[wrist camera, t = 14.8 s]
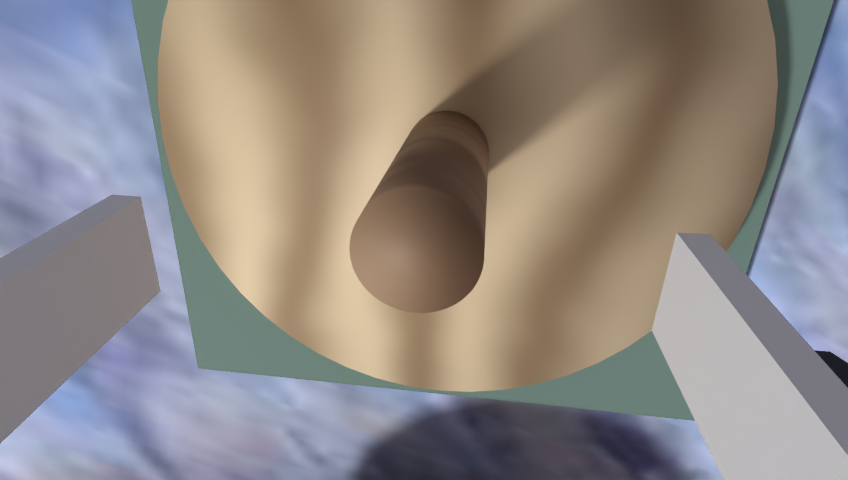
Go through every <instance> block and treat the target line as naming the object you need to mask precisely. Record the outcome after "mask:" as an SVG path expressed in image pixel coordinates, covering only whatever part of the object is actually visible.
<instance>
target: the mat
mask: <svg viewBox="0 0 848 480" xmlns="http://www.w3.org/2000/svg"><path fill="white" fill-rule="evenodd" d="M131 1H132V7H133V12H134V18H135V23H136V29H137V34H138V40H139V45H140V51H141V56H142V62H143V67H144V73H145V78H146V84H147V89H148V95H149V100H150V106H151V111H152V117H153V122H154V128H155V133H156V139H157V144H158V150H159V155H160V161H161V166H162V172H163V177H164V183H165V188H166V194H167V199H168V205H169V210H170V216H171V221H172V227H173V232H174V238H175V243H176V249H177V254H178V260H179V265H180V271H181V276H182V282H183V287H184V293H185V298H186V304H187V309H188V315H189V320H190V326H191V331H192V337H193V342H194V348H195V353H196V359H197V364H198V368H202V369H211V370H220V371H230V372H239V373H249V374H258V375H268V376H277V377H287V378H296V379H306V380H315V381H324V382H334V383H343V384H353V385H362V386H372V387H381V388H391V389H400V390H410V391H419V392H428V393H438V394H447V395H457V396H466V397H476V398H485V399H495V400H504V401H514V402H523V403H533V404H542V405H551V406H561V407H570V408H580V409H589V410H599V411H608V412H618V413H627V414H637V415H646V416H655V417H665V418H674V419H684V420H693V421H695V420H694V417H693V415H692V413H691V411H690V409H689V407H688V405H687V403H686V401H685V399H684V397H683V395H682V392H681V390H680V388H679V386H678V384H677V382H676V380H675V378H674V376H673V374H672V372H671V370H670V367H669V365H668V363H667V361H666V359H665V357H664V355H663V353H662V351H661V349H660V347H659V345H658V342H657V340H656V338H655V336H654V334H653V332H652V331H651V332H649V333H648V334H646V335H645V336H643V337H642V338H640V339H639V340H637V341H636V342H635V343H633V344H632V345H630V346H629V347H627V348H625V349H623V350H621V351H620V352H618V353H616V354H614V355H612V356H610V357H608V358H606V359H605V360H603V361H601V362H599V363H597V364H594V365H592V366H589V367H587V368H584V369H582V370H579V371H577V372H574V373H572V374H569V375H567V376H563V377H560V378H556V379H553V380H549V381H545V382H542V383H538V384H535V385H529V386H523V387H517V388H511V389H505V390H493V391H476V392H462V391H439V390H431V389H425V388H418V387H411V386H405V385H401V384H397V383H394V382H390V381H386V380H382V379H378V378H375V377H372V376H369V375H366V374H364V373H361V372H358V371H356V370H353V369H350V368H347V367H345V366H343V365H341V364H339V363H337V362H335V361H333V360H331V359H329V358H327V357H325V356H323V355H320V354H318V353H317V352H315V351H313V350H312V349H310V348H309V347H307V346H305V345H304V344H302V343H301V342H299V341H297V340H296V339H294V338H293V337H291V336H289V335H288V334H287V333H286V332H284V331H283V330H282V329H281V328H279V327H278V326H277V325H275V324H274V323H273V322H272V321H270V320H269V319H268V318H266V317H265V316H264V315H263V314H262V313H261V312H260V311H259V310H258V309H257V308H256V307H255V306H254V305H253V304H252V303H251V302H250V301H248V300H247V299H246V298H245V297H244V296H243V295H242V294H241V293H240V292H239V290H238V289H237V288H236V287H235V286H234V284H233V283H232V282H231V281H230V280H229V278H228V277H227V276H226V275H225V274H224V272H223V271H222V270H221V269H220V268H219V266H218V265H217V263H216V262H215V260H214V259H213V257H212V256H211V254H210V253H209V251H208V250H207V248H206V247H205V245H204V244H203V242H202V241H201V239H200V237H199V235H198V233H197V231H196V229H195V228H194V226H193V224H192V222H191V220H190V218H189V216H188V214H187V212H186V210H185V208H184V206H183V203H182V200H181V198H180V195H179V192H178V190H177V187H176V184H175V182H174V179H173V177H172V174H171V170H170V166H169V162H168V158H167V154H166V150H165V146H164V142H163V138H162V130H161V122H160V114H159V106H158V55H159V48H160V40H161V32H162V24H163V19H164V15H165V11H166V7H167V4H168V0H131ZM833 1H834V0H767V3H768V7H769V12H770V17H771V21H772V26H773V31H774V36H775V44H776V61H777V77H778V89H777V101H776V113H775V126H774V131H773V136H772V140H771V145H770V149H769V154H768V158H767V163H766V167H765V171H764V173H763V176H762V179H761V181H760V184H759V187H758V190H757V192H756V195H755V198H754V200H753V203H752V206H751V208H750V210H749V212H748V214H747V216H746V218H745V220H744V222H743V223H742V225H741V227H740V229H739V231H738V233H737V235H736V237H735V239H734V241H733V242H732V244H731V246H730V247H729V248H728V250H727V251H726V252H727V254H728V255H729V256H730V257H731V258H732V259H733V260H734V261H735V262H736V264H737V265H738V266H739V267H740V268H741V269H742V270H743V271H744V273H745V274H746V272H747V269H748V266H749V263H750V260H751V257H752V254H753V250H754V247H755V244H756V241H757V238H758V235H759V232H760V229H761V226H762V222H763V219H764V216H765V213H766V210H767V207H768V204H769V201H770V198H771V194H772V191H773V188H774V185H775V182H776V179H777V176H778V173H779V170H780V166H781V163H782V160H783V157H784V154H785V151H786V148H787V145H788V141H789V138H790V135H791V132H792V129H793V126H794V123H795V120H796V117H797V113H798V110H799V107H800V104H801V101H802V98H803V95H804V92H805V89H806V85H807V82H808V79H809V76H810V73H811V70H812V67H813V64H814V61H815V57H816V54H817V51H818V48H819V45H820V42H821V39H822V36H823V32H824V29H825V26H826V23H827V20H828V17H829V14H830V11H831V8H832V4H833Z"/></svg>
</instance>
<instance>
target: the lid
mask: <svg viewBox="0 0 848 480" xmlns="http://www.w3.org/2000/svg"><path fill="white" fill-rule="evenodd" d="M777 89H778V77H777V61H776V44H775V36H774V31H773V26H772V21H771V17H770V12H769V7H768V3H767V0H168V4H167V7H166V11H165V15H164V19H163V24H162V32H161V40H160V48H159V55H158V106H159V114H160V122H161V130H162V138H163V142H164V146H165V150H166V154H167V158H168V162H169V166H170V170H171V174H172V177H173V179H174V182H175V184H176V187H177V190H178V192H179V195H180V198H181V200H182V203H183V206H184V208H185V210H186V212H187V214H188V216H189V218H190V220H191V222H192V224H193V226H194V228H195V229H196V231H197V233H198V235H199V237H200V239H201V241H202V242H203V244H204V245H205V247H206V248H207V250H208V251H209V253H210V254H211V256H212V257H213V259H214V260H215V262H216V263H217V265H218V266H219V268H220V269H221V270H222V271H223V272H224V274H225V275H226V276H227V277H228V278H229V280H230V281H231V282H232V283H233V284H234V286H235V287H236V288H237V289H238V290H239V292H240V293H241V294H242V295H243V296H244V297H245V298H246V299H247V300H248V301H250V302H251V303H252V304H253V305H254V306H255V307H256V308H257V309H258V310H259V311H260V312H261V313H262V314H263V315H264V316H265V317H266V318H268V319H269V320H270V321H272V322H273V323H274V324H275V325H277V326H278V327H279V328H281V329H282V330H283V331H284V332H286V333H287V334H288V335H289V336H291V337H293V338H294V339H296V340H297V341H299V342H301V343H302V344H304V345H305V346H307V347H309V348H310V349H312V350H313V351H315V352H317V353H318V354H320V355H323V356H325V357H327V358H329V359H331V360H333V361H335V362H337V363H339V364H341V365H343V366H345V367H347V368H350V369H353V370H356V371H358V372H361V373H364V374H366V375H369V376H372V377H375V378H378V379H382V380H386V381H390V382H394V383H397V384H401V385H405V386H411V387H418V388H425V389H431V390H439V391H462V392H476V391H493V390H505V389H511V388H517V387H523V386H529V385H535V384H538V383H542V382H545V381H549V380H553V379H556V378H560V377H563V376H567V375H569V374H572V373H574V372H577V371H579V370H582V369H584V368H587V367H589V366H592V365H594V364H597V363H599V362H601V361H603V360H605V359H606V358H608V357H610V356H612V355H614V354H616V353H618V352H620V351H621V350H623V349H625V348H627V347H629V346H630V345H632V344H633V343H635V342H636V341H637V340H639V339H640V338H642V337H643V336H645V335H646V334H648V333H649V332H651V331H652V327H653V323H654V319H655V315H656V311H657V307H658V303H659V300H660V296H661V292H662V288H663V284H664V280H665V276H666V272H667V268H668V264H669V260H670V256H671V253H672V249H673V245H674V241H675V237H676V233H677V232H678V233H693V234H708V235H711V236H712V237H713V238H714V239H715V240H716V241H717V242H718V243H719V245H720V246H721V247H722V248H723V249H724V250H725V251H727V250H728V248H729V247H730V246H731V244H732V242H733V241H734V239H735V237H736V235H737V233H738V231H739V229H740V227H741V225H742V223H743V222H744V220H745V218H746V216H747V214H748V212H749V210H750V208H751V206H752V203H753V200H754V198H755V195H756V192H757V190H758V187H759V184H760V181H761V179H762V176H763V173H764V171H765V167H766V163H767V158H768V154H769V149H770V145H771V140H772V136H773V131H774V126H775V113H776V101H777Z"/></svg>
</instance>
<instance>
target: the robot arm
mask: <svg viewBox="0 0 848 480" xmlns="http://www.w3.org/2000/svg"><path fill="white" fill-rule="evenodd" d="M159 292H160V286H159V282H158V277H157V272H156V268H155V263H154V258H153V253H152V249H151V244H150V239H149V235H148V230H147V225H146V220H145V216H144V211H143V206H142V202H141V197H135V196H120V195H111V196H109V197H107V198H105V199H104V200H102V201H100V202H98V203H97V204H95V205H93V206H91V207H90V208H88V209H86V210H84V211H83V212H81V213H79V214H77V215H76V216H74V217H72V218H70V219H69V220H67V221H65V222H63V223H62V224H60V225H58V226H56V227H55V228H53V229H51V230H49V231H48V232H46V233H44V234H42V235H41V236H39V237H37V238H35V239H34V240H32V241H30V242H28V243H27V244H25V245H23V246H21V247H20V248H18V249H16V250H14V251H13V252H11V253H9V254H7V255H6V256H4V257H2V258H0V443H1V442H2V441H3V440H4V439H5V438H6V437H8V436H9V435H10V434H11V433H12V432H13V431H14V430H15V429H16V428H17V427H18V426H19V425H20V424H21V423H22V422H23V421H24V420H25V419H26V418H27V417H29V416H30V415H31V414H32V413H33V412H34V411H35V410H36V409H37V408H38V407H39V406H40V405H41V404H42V403H43V402H44V401H45V400H46V399H47V398H48V397H49V396H51V395H52V394H53V393H54V392H55V391H56V390H57V389H58V388H59V387H60V386H61V385H62V384H63V383H64V382H65V381H66V380H67V379H68V378H69V377H70V376H72V375H73V374H74V373H75V372H76V371H77V370H78V369H79V368H80V367H81V366H82V365H83V364H84V363H85V362H86V361H87V360H88V359H89V358H90V357H91V356H93V355H94V354H95V353H96V352H97V351H98V350H99V349H100V348H101V347H102V346H103V345H104V344H105V343H106V342H107V341H108V340H109V339H110V338H111V337H112V336H114V335H115V334H116V333H117V332H118V331H119V330H120V329H121V328H122V327H123V326H124V325H125V324H126V323H127V322H128V321H129V320H130V319H131V318H132V317H133V316H134V315H136V314H137V313H138V312H139V311H140V310H141V309H142V308H143V307H144V306H145V305H146V304H147V303H148V302H149V301H150V300H151V299H152V298H153V297H154V296H155V295H157V294H158V293H159ZM652 332H653V334H654V336H655V338H656V340H657V342H658V345H659V347H660V349H661V351H662V353H663V355H664V357H665V359H666V361H667V363H668V365H669V367H670V370H671V372H672V374H673V376H674V378H675V380H676V382H677V384H678V386H679V388H680V390H681V392H682V395H683V397H684V399H685V401H686V403H687V405H688V407H689V409H690V411H691V413H692V415H693V417H694V420H695V422H696V424H697V426H698V428H699V430H700V432H701V434H702V436H703V438H704V440H705V442H706V445H707V447H708V449H709V451H710V453H711V455H712V457H713V459H714V461H715V463H716V465H717V467H718V470H719V472H720V474H721V476H722V478H723V480H848V363H847V362H845V361H844V360H842V359H840V358H839V357H837V356H836V355H834V354H833V353H831V352H826V351H814V350H813V349H812V347H811V346H810V345H809V344H808V343H807V342H806V341H805V340H804V338H803V337H802V336H801V335H800V334H799V333H798V332H797V331H796V330H795V328H794V327H793V326H792V325H791V324H790V323H789V322H788V321H787V319H786V318H785V317H784V316H783V315H782V314H781V313H780V312H779V311H778V309H777V308H776V307H775V306H774V305H773V304H772V303H771V302H770V300H769V299H768V298H767V297H766V296H765V295H764V294H763V293H762V292H761V290H760V289H759V288H758V287H757V286H756V285H755V284H754V283H753V281H752V280H751V279H750V278H749V277H748V276H747V275H746V274H745V273H744V271H743V270H742V269H741V268H740V267H739V266H738V265H737V264H736V262H735V261H734V260H733V259H732V258H731V257H730V256H729V255H728V254H727V252H726V251H725V250H724V249H723V248H722V247H721V246H720V245H719V243H718V242H717V241H716V240H715V239H714V238H713V237H712V236H711V235H708V234H693V233H678V232H677V233H676V237H675V241H674V245H673V249H672V253H671V256H670V260H669V264H668V268H667V272H666V276H665V280H664V284H663V288H662V292H661V296H660V300H659V303H658V307H657V311H656V315H655V319H654V323H653V327H652Z"/></svg>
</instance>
